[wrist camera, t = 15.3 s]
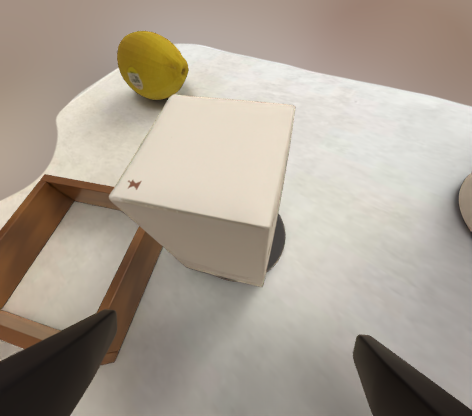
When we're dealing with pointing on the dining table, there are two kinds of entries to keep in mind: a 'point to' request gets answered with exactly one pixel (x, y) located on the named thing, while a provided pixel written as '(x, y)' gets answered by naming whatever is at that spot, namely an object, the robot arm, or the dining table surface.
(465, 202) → the cylinder vase
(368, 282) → the dining table surface
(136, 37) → the lemon
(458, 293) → the dining table surface
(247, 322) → the dining table surface
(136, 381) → the dining table surface
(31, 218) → the brown square shallow frame
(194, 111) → the white packaging box
